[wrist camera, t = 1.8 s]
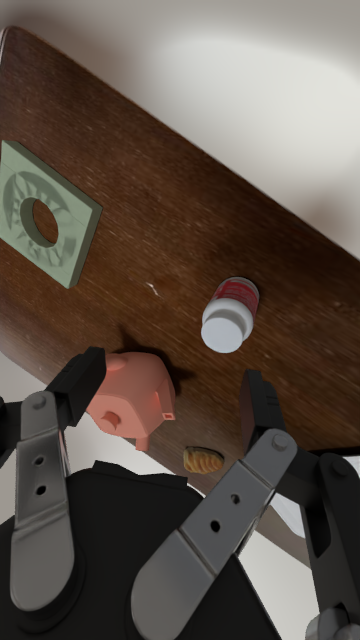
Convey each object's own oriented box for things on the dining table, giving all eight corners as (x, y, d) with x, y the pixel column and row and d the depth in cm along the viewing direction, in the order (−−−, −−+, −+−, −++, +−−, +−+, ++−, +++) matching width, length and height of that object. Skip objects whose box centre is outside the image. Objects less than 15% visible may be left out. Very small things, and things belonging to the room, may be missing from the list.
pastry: (217, 446, 55) (213, 462, 52) (229, 465, 57) (226, 482, 54) (183, 445, 60) (177, 460, 57) (195, 463, 62) (190, 478, 59)
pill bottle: (222, 270, 35) (200, 303, 26) (265, 282, 33) (257, 322, 25) (213, 307, 38) (190, 347, 29) (251, 319, 37) (240, 366, 28)
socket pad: (17, 141, 36) (1, 139, 34) (103, 207, 37) (92, 209, 35) (9, 232, 46) (-4, 234, 44) (77, 284, 46) (67, 289, 44)
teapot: (100, 374, 58) (55, 421, 47) (119, 319, 47) (66, 365, 36) (164, 416, 57) (135, 475, 46) (199, 370, 46) (171, 434, 35)
